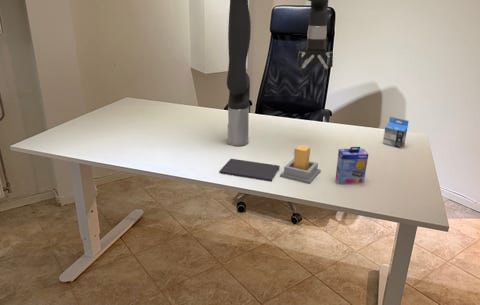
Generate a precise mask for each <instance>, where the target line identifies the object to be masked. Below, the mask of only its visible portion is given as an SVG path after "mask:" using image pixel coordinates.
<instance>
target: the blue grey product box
mask: <svg viewBox="0 0 480 305" xmlns="http://www.w3.org/2000/svg"><path fill="white" fill-rule="evenodd" d="M408 128H409V120H406V119H401V118H396V117H393V116H390V117H389V121H388V123H387V124H386V125H385V127H384V132H383V139H382V144H383V145H386V146H390V147H393V148H398V149H403V148H404V147H405V144H406V139H407V138H406V137H407V132H408Z"/></svg>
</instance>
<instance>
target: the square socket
mask: <svg viewBox="0 0 480 305" xmlns="http://www.w3.org/2000/svg"><path fill="white" fill-rule="evenodd" d="M318 166H319V162H316V161H315V162H314V161H311V160H309V169H308V170H307V171H306V170H302V169H297V168H294V158H292V159H291V160H290V161H289V162H288V163H287V164H285V166H284V167H283V171H282V172H281V173H280V174H279V177H280V178H283V179H287V180H291V181H296V182H298V183H299V182H300V183H304V184H308V185H310V184H311V183H312V182H313V181H314V180H315V179H316V178H317V177H318V176H319V174H320V173H321V171H322V169H320V168H318Z"/></svg>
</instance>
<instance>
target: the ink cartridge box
mask: <svg viewBox="0 0 480 305" xmlns="http://www.w3.org/2000/svg"><path fill="white" fill-rule="evenodd" d="M337 151H338V153H337V162H336V170H335V179H336V181H337V183H338V184H339V185H346V184H347V185H348V184H349V185H350V184H355V185H357V184H364V183H365V177H366V170H367V166H368V165H367V164H368V160H369V153H368V151H366V149H365V148H362V147H361V146H350V148H339V149H338V150H337Z"/></svg>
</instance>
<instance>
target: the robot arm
mask: <svg viewBox="0 0 480 305" xmlns="http://www.w3.org/2000/svg"><path fill="white" fill-rule="evenodd" d="M307 1H308V2H310V11H309V16H308V17H309V18H308V27H307V28H308V29H307V34H306V36H307V38H306V50H305V51H301V50H300V51H298V52H297V53H298V55H297V63H296V66H297V67H299V68H300V69H301V70H300V75H301V77H302V78H305V73H306V67H307V66H308V64H309V63H311V64H315V63H316V64H320V63H321V65H322V66H323V67H324V68H323V69H322V70H323V72H322V78H323V79H326V77H327V76H328V69H330V68H333V60H334V59H333V58H334V53H333V52H332V51H327V52H326V45H327V33H328V32H327V30H328V29H327V26H328V24H327V23H328V7H329V0H307ZM228 11H229V13H228V26H227V27H228V34H227V36H228V37H227V40H228V45H227V46H228V47H227V48H228V68H227V75H226V76H227V77H226V86H227V89H228V90H229V92H228V93H229V96H228V101H227V107H228V109H227V112H228V113H227V116H228V117H227V121H228V122H227V144H228V145H231V146H234V147H243V146H246V145H248V144H249V121H250V120H249V116H250V112H249V111H250V110H249V109H250V107H249V105H250V97H251V96H250V92H251V91H250V90H251V79H250V75H249V74H248V73H247V58H248V53H249V48H250V44H251V31H252V30H251V29H252V25H251V24H252V23H251V16H250V15H251V14H250V9H249V0H229V10H228ZM326 56H327V58H328V64H327V63H326V62H325V60H324V58H325V57H326ZM304 57H306V59H305V60H304V62H303V63H302V58H304Z"/></svg>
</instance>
